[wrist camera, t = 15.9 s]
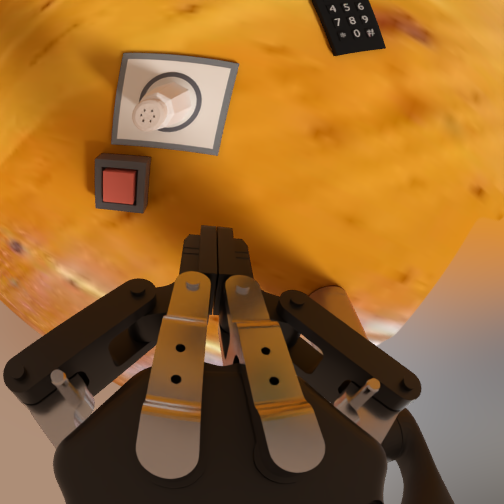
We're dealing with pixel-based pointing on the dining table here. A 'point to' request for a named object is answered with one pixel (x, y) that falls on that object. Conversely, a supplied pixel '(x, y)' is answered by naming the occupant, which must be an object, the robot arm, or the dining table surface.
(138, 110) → the salt shaker
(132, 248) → the dining table surface
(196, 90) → the board
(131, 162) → the button housing
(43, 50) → the dining table surface
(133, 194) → the button
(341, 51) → the remote control
